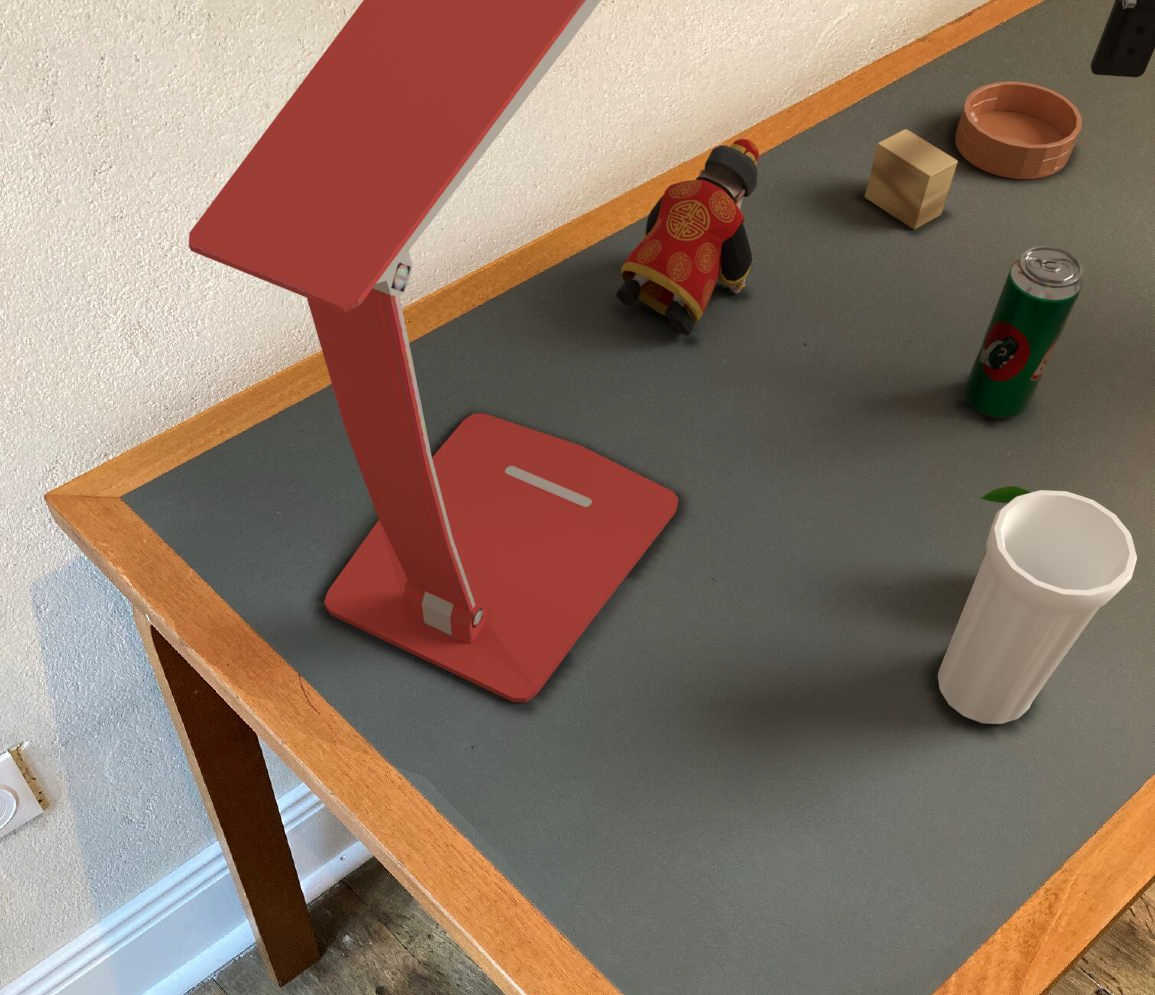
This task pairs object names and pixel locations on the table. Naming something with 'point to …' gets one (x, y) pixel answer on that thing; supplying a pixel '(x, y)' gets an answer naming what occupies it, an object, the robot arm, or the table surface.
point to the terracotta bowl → (1017, 130)
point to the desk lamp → (382, 353)
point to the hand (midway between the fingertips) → (1103, 31)
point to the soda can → (1024, 331)
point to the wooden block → (910, 178)
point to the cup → (1032, 600)
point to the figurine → (695, 239)
